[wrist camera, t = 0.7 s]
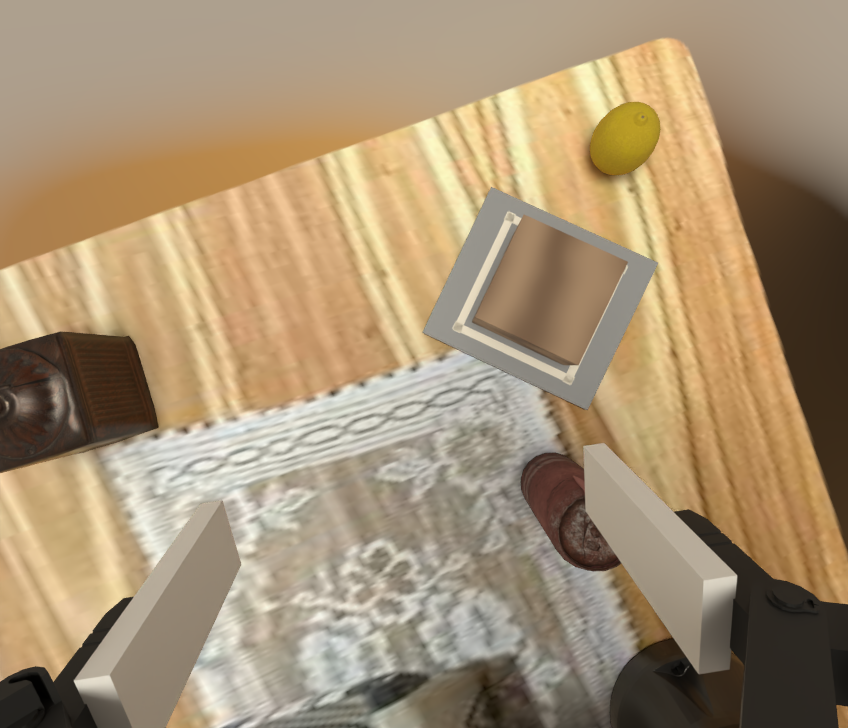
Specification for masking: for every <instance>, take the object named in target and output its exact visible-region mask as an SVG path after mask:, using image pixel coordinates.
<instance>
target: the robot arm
mask: <svg viewBox="0 0 848 728" xmlns="http://www.w3.org/2000/svg"><path fill="white" fill-rule="evenodd" d="M583 450H584V479H585V508H586V512H587V514H588V515H589V517H590V518H591V520H592V521H593V523H594V524H595V525H596V527H597V528H598V530H599V531H600V533H601V534H602V536H603V537H604V538H605V540H606V541H607V543H608V544H609V546H610V547H611V549H612V550H613V551H614V553H615V554H616V556H617V557H618V559H619V560H620V562H621V563H622V564H623V566H624V567H625V569H626V570H627V572H628V573H629V575H630V576H631V577H632V579H633V580H634V582H635V583H636V585H637V586H638V588H639V589H640V590H641V592H642V593H643V595H644V596H645V598H646V599H647V601H648V602H649V603H650V605H651V606H652V608H653V609H654V611H655V612H656V614H657V615H658V616H659V618H660V619H661V621H662V622H663V624H664V625H665V627H666V628H667V629H668V631H669V632H670V634H671V635H672V637H673V638H674V639H670V640H666V641H662V642H659V643H657V644H654V645H652V646H650V647H648V648H646V649H645V650H643V651H642V652H640V653H639V654H638V655H636V656H635V657H634V658H633V659H632V660H631V661H630V662H629V663H628V664H627V665H626V667H625V668H624V669H623V671H622V672H621V674H620V676H619V678H618V679H617V682H616V684H615V687H614V689H613V693H612V697H611V704H610V719H611V726H612V728H839V727H838V718H837V708H836V705H842V706H848V604H839V603H829V602H822V601H819V600H818V599H817V598H816V597H815V596H814V595H813V594H812V593H810V592H809V591H807V590H805V589H804V588H802V587H800V586H798V585H795V584H793V583H790V582H787V581H782V580H777V579H773V578H772V577H771V576H769V575H768V574H767V573H766V572H765V571H764V570H763V569H762V568H761V567H760V566H758V565H757V564H756V563H755V562H754V561H753V560H752V559H751V558H750V557H749V556H747V555H746V554H745V553H744V552H743V551H742V550H741V549H740V548H739V547H738V546H736V545H735V544H732V541H731V540H730V539H729V538H728V537H727V536H725V535H724V534H723V533H722V534H721V531H720V530H719V529H718V528H717V527H716V526H714V525H713V524H712V523H711V522H710V521H709V520H708V519H706V518H704V517H702V516H701V515H699V514H697V513H695V512H693V511H691V510H683V511H676V512H673V511H672V510H671V509H670V508H669V507H668V506H667V505H666V504H665V503H664V502H663V501H662V500H661V499H660V498H659V497H658V496H657V495H656V494H655V493H654V492H653V491H652V490H651V489H650V488H649V487H648V486H647V485H646V484H645V483H644V482H643V481H642V480H641V479H640V478H639V477H638V476H637V475H636V474H635V473H634V472H633V471H632V470H631V469H630V468H629V467H628V466H627V465H626V464H625V463H624V462H623V461H622V460H621V459H620V458H619V457H618V456H617V455H616V454H615V453H614V452H613V451H612V450H611V449H610V448H609V447H608V446H607V445H606V444H605V443H601V444H594V445H587V446H583ZM240 566H241V562H240V558H239V555H238V551H237V548H236V545H235V541H234V538H233V535H232V531H231V528H230V524H229V521H228V518H227V514H226V511H225V508H224V504H223V501H215V502H209V503H202V504H200V506H199V507H198V508H197V510H196V511H195V513H194V514H193V515H192V517H191V518H190V519H189V521H188V522H187V524H186V525H185V526H184V528H183V529H182V531H181V532H180V533H179V535H178V536H177V538H176V539H175V540H174V542H173V543H172V545H171V546H170V547H169V549H168V550H167V552H166V553H165V554H164V556H163V557H162V558H161V560H160V561H159V563H158V564H157V565H156V567H155V568H154V570H153V571H152V572H151V574H150V575H149V577H148V578H147V579H146V581H145V582H144V584H143V585H142V586H141V588H140V589H139V590H138V592H137V593H136V595H135V596H134V597H129V598H123V599H122V600H121V601H120V602H119V603H118V604H116V605H115V606H114V607H113V608H112V609H111V610H109V611H108V612H107V613H106V614H105V615H104V617H103V618H102V619H101V620H100V622H99V623H98V624H97V626H96V627H95V628H94V630H93V633H92V634H90V635H89V636H88V638H87V639H86V640H85V641H84V643H83V644H82V645H83V646H82V647H81V648H79V649H78V651H77V652H76V653H75V655H74V656H73V657H72V659H71V660H70V661H69V662H68V664H67V665H66V666H65V668H64V669H63V670H62V672H61V673H60V674H59V676H58V677H57V678H56V680H55V681H54V682H53V681H52V679H51V677H50V675H49V673H48V672H47V670H46V669H45V668H44V667H32V668H27V669H23V670H21V671H19V672H17V673H15V674H13V675H10V676H8V677H7V678H5V679H4V680H2V681H1V682H0V728H166V726H167V723H168V721H169V719H170V717H171V715H172V713H173V710H174V708H175V706H176V704H177V702H178V700H179V698H180V695H181V693H182V691H183V689H184V687H185V685H186V682H187V680H188V678H189V676H190V674H191V672H192V669H193V667H194V665H195V663H196V661H197V659H198V657H199V654H200V652H201V650H202V648H203V646H204V644H205V641H206V639H207V637H208V635H209V633H210V631H211V629H212V626H213V624H214V622H215V620H216V618H217V616H218V613H219V611H220V609H221V607H222V605H223V603H224V600H225V598H226V596H227V594H228V592H229V590H230V588H231V585H232V583H233V581H234V579H235V577H236V575H237V572H238V570H239V568H240ZM731 650H732V651H733V652H734V654H735V655H734V654H733V653H731Z"/></svg>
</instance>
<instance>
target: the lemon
mask: <svg viewBox="0 0 848 728" xmlns="http://www.w3.org/2000/svg"><path fill="white" fill-rule="evenodd" d="M659 135H660V121H659V118H658V115H657V114H656V112H655V111H654V109H652V108H651V107H650V106H649V105H647V104H645V103H641V102H628V103H625V104H622V105H620V106H618V107H616V108H614V109H613V110H611V111H610V112H609V113H608V114H607V115H606V116H605V117H604V118H603V119H602V120H601V121H600V122H599V124H598V125H597V127H596V129H595V130H594V133H593V135H592V139H591V142H590V154H591V159H592V161H593V163H594V165H595V166H596V167H597V168H598V169H599V170H600V171H602V172H603V173H606V174H609V175H623V174H626V173H629V172H631V171H633V170H635V169H637V168H638V167H639V166H641V165H642V164H643V163H644V162H645V161H646V160H647V159H648V157H649V156H650V155H651V154H652V152H653V151H654V149H655V146H656V144H657V142H658V139H659Z"/></svg>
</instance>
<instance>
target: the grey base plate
mask: <svg viewBox="0 0 848 728" xmlns="http://www.w3.org/2000/svg"><path fill="white" fill-rule="evenodd" d="M523 215H526V216H529V217H531V218H533V219H535V220H537V221H540V222H542V223H544V224H546V225H548V226H551V227H553V228H555V229H557V230H559V231H562V232H564V233H566V234H568V235H570V236H573V237H575V238H577V239H579V240H581V241H584V242H586V243H588V244H590V245H592V246H595V247H597V248H599V249H601V250H603V251H606V252H608V253H610V254H612V255H614V256H617V257H619V258H621V259H623V260H625V261H627V262H628V263H627V265H626V268H625V270H624V272H623V274H622V276H621V278H620V280H619V282H618V284H617V286H616V288H615V290H614V293H613V295H612V297H611V299H610V301H609V303H608V305H607V307H606V309H605V311H604V313H603V315H602V318H601V320H600V322H599V324H598V326H597V328H596V330H595V332H594V334H593V336H592V338H591V340H590V343H589V345H588V347H587V349H586V351H585V353H584V355H583V357H582V359H581V361H580V363H579V365H562V364H560V363H558V362H555V361H553V360H551V359H549V358H547V357H545V356H543V355H540V354H538V353H536V352H534V351H532V350H530V349H528V348H526V347H523V346H521V345H519V344H517V343H515V342H513V341H511V340H508V339H506V338H504V337H502V336H500V335H498V334H496V333H493V332H491V331H489V330H487V329H485V328H483V327H481V326H479V325H476V324H474V323H472V320H473V318H474V316H475V314H476V312H477V310H478V308H479V306H480V304H481V301H482V299H483V297H484V295H485V293H486V291H487V289H488V287H489V285H490V283H491V280H492V278H493V276H494V274H495V272H496V270H497V268H498V266H499V264H500V261H501V259H502V257H503V255H504V253H505V251H506V249H507V247H508V245H509V243H510V240H511V238H512V236H513V234H514V232H515V230H516V228H517V226H518V224H519V223H520V221H521V219H522V217H523ZM657 264H658V263H657V262H655V261H653V260H651V259H649V258H646V257H644V256H642V255H640V254H638V253H635V252H633V251H631V250H629V249H627V248H624V247H622V246H620V245H618V244H616V243H613V242H611V241H609V240H607V239H605V238H602V237H600V236H598V235H596V234H594V233H591V232H589V231H587V230H585V229H583V228H580V227H578V226H576V225H574V224H572V223H569V222H567V221H565V220H563V219H561V218H558V217H556V216H554V215H552V214H550V213H547V212H545V211H543V210H541V209H539V208H536V207H534V206H532V205H530V204H528V203H525V202H523V201H521V200H519V199H517V198H514V197H512V196H510V195H508V194H506V193H503V192H501V191H499V190H497V189H495V188H492V187H491V189H490V191H489V193H488V195H487V197H486V199H485V201H484V204H483V206H482V208H481V210H480V212H479V214H478V216H477V218H476V220H475V223H474V225H473V227H472V229H471V231H470V233H469V235H468V237H467V239H466V242H465V244H464V246H463V248H462V250H461V252H460V254H459V256H458V258H457V261H456V263H455V265H454V267H453V269H452V271H451V273H450V275H449V278H448V280H447V282H446V284H445V286H444V288H443V290H442V292H441V294H440V297H439V299H438V301H437V303H436V305H435V307H434V309H433V311H432V313H431V316H430V318H429V320H428V322H427V324H426V326H425V328H424V330H423V333H424V334H426V335H428V336H430V337H432V338H434V339H437V340H439V341H441V342H443V343H445V344H447V345H449V346H451V347H453V348H456V349H458V350H460V351H462V352H464V353H466V354H468V355H470V356H473V357H475V358H477V359H479V360H481V361H483V362H485V363H487V364H490V365H492V366H494V367H496V368H498V369H500V370H502V371H504V372H506V373H509V374H511V375H513V376H515V377H517V378H519V379H521V380H523V381H526V382H528V383H530V384H532V385H534V386H536V387H538V388H540V389H543V390H545V391H547V392H549V393H551V394H553V395H555V396H557V397H559V398H562V399H564V400H566V401H568V402H570V403H572V404H574V405H576V406H579V407H581V408H583V409H585V410H588V408H589V406H590V404H591V402H592V399H593V397H594V395H595V393H596V391H597V389H598V387H599V385H600V383H601V381H602V379H603V377H604V375H605V372H606V370H607V368H608V366H609V364H610V362H611V360H612V358H613V356H614V354H615V352H616V350H617V348H618V345H619V343H620V341H621V339H622V337H623V335H624V333H625V331H626V329H627V327H628V325H629V323H630V321H631V318H632V316H633V314H634V312H635V310H636V308H637V306H638V304H639V302H640V300H641V298H642V296H643V294H644V291H645V289H646V287H647V285H648V283H649V281H650V279H651V277H652V275H653V273H654V271H655V269H656V267H657Z"/></svg>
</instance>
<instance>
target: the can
mask: <svg viewBox="0 0 848 728" xmlns="http://www.w3.org/2000/svg"><path fill="white" fill-rule="evenodd" d="M521 490H522V492H523V495H524V498H525V499H526V501H527V503H528V504H529V506H530V508H531V509H532V511H533V513H534V514H535V516H536V518H537V519H538V521H539V522H540V524H541V526H542V527H543V529H544V531H545V532H546V534H547V536H548V537H549V539H550V540H551V542H552V544H553V545H554V547H555V549H556V550H557V551H558V552H559V554H560V555H561V556H562V557H563V559H564V560H566V561H567V562H569V563H570V564H572V565H573V566H575V567H578V568H581V569H585V570H588V571H606V570H609V569H612V568H615V567H617V566H618V565H620V564H621V562H620V560H619V559H618V557H617V556H616V554H615V553H614V551H613V550H612V549H611V547H610V546H609V544H608V543H607V541H606V540H605V538H604V537H603V536H602V534H601V533H600V531H599V530H598V528H597V527H596V525H595V524H594V523H593V521H592V520H591V518H590V517H589V515H588V514H587V512H586V508H585V479H584V469H583V468H582V467H580V466H579V465H578V464H576V463H575V462H574V461H572V460H571V459H569V458H568V457H566V456H565V455H561V454H558V453H544V454H542V455H539V456H536V457H535V458H534V459H532V460H531V461H530V462H529V463H528V464H527V466H526V467H525V469H524V470H523V474H522V477H521Z"/></svg>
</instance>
